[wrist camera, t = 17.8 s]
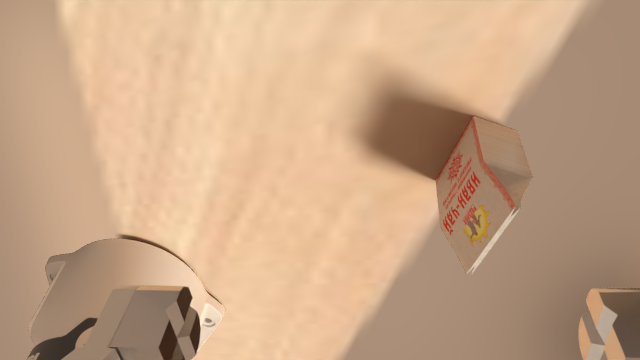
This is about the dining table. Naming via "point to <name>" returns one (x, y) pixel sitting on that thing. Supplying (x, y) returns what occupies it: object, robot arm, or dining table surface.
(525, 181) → the tea bag
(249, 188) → the dining table surface
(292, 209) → the dining table surface
